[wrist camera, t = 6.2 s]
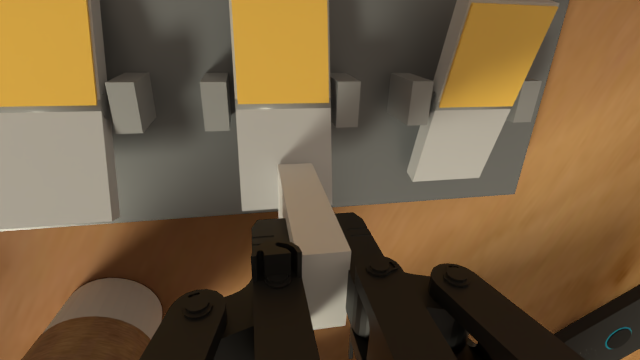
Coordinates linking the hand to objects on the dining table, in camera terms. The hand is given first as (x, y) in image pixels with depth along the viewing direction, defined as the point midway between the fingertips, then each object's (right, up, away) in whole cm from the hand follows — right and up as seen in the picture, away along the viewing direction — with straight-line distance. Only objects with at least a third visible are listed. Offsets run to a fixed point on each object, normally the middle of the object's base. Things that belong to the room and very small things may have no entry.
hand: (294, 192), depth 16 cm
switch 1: (-9, +3, -2) cm, 10 cm away
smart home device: (+34, -12, +21) cm, 42 cm away
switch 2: (0, +4, 0) cm, 4 cm away
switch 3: (+8, +4, +1) cm, 9 cm away
